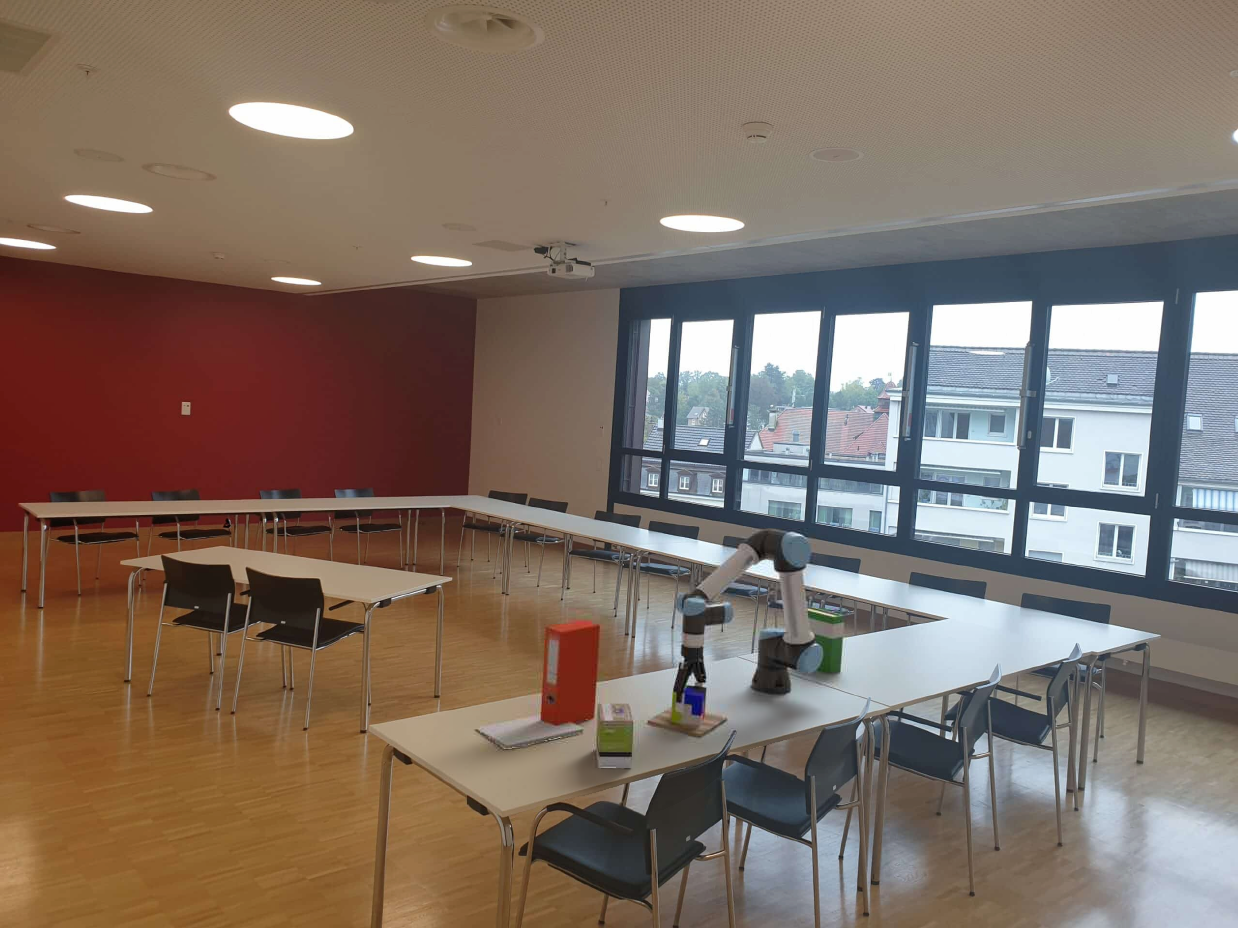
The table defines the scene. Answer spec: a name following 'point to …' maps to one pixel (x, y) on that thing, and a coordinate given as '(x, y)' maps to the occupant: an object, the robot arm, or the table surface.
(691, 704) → the puzzle toy
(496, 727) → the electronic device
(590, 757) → the table surface
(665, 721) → the walnut board
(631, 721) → the tea box
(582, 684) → the file binder
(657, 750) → the table surface
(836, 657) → the hardback book
